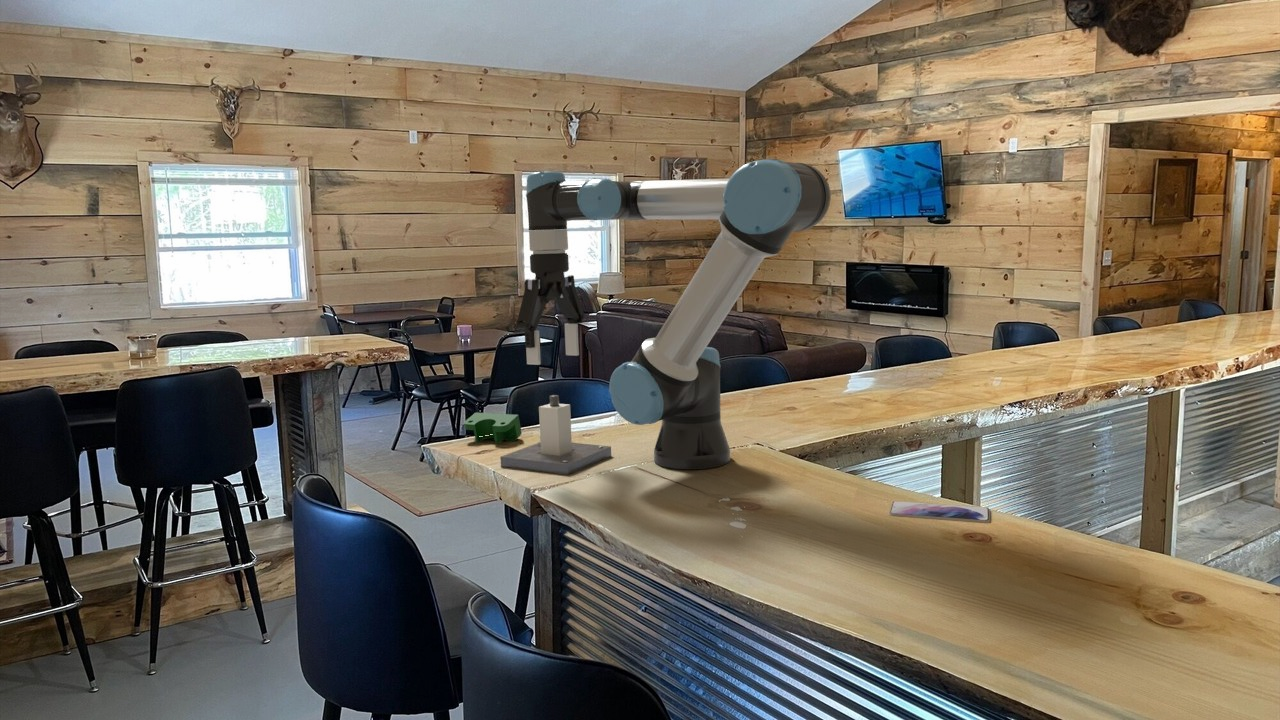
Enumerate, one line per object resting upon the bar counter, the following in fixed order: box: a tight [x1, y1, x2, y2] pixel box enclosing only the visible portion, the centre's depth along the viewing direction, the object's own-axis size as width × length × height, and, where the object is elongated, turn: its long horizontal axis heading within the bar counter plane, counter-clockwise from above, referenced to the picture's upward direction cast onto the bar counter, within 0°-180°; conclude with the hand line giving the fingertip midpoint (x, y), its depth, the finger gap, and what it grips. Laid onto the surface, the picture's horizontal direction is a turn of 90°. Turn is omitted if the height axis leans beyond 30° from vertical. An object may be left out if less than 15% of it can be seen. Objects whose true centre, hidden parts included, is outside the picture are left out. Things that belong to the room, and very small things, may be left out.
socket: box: [500, 441, 612, 476], centre depth 187 cm, size 16×16×3 cm
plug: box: [538, 394, 573, 456], centre depth 186 cm, size 4×4×13 cm
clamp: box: [463, 412, 522, 445], centre depth 207 cm, size 12×6×9 cm, turn 61°
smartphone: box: [888, 500, 991, 524], centre depth 147 cm, size 7×1×15 cm
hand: (553, 359), depth 184 cm, fingers open, 13 cm apart
